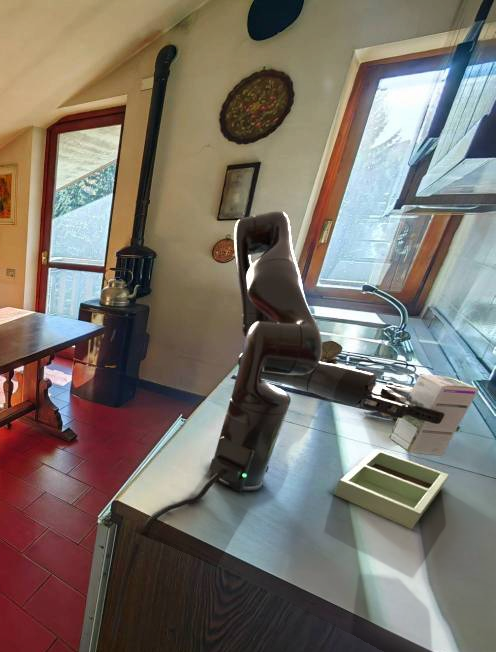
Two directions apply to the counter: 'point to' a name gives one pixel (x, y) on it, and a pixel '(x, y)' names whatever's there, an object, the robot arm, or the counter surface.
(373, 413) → the snack package
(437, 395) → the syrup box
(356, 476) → the holder
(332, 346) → the tan boot
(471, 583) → the counter surface
